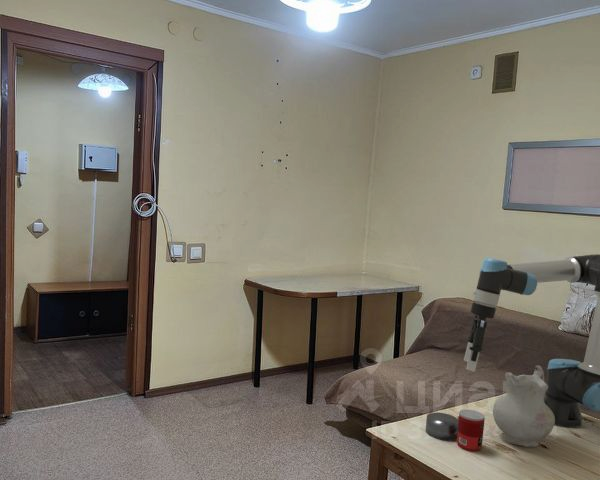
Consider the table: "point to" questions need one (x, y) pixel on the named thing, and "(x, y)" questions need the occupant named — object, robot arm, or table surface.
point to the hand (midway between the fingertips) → (468, 365)
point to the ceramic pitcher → (524, 410)
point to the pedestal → (442, 426)
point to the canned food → (470, 430)
